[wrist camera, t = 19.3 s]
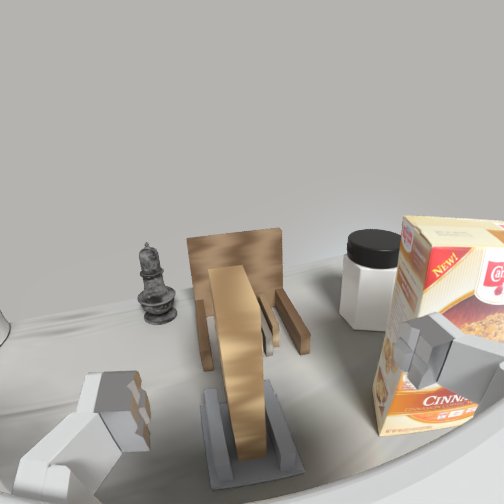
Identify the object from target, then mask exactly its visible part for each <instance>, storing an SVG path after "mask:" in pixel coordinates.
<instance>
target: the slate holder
mask: <svg viewBox="0 0 504 504" xmlns="http://www.w3.org/2000/svg"><path fill="white" fill-rule="evenodd" d="M204 394H205V402H206V406H200V409H201V418H202V426H203V434H204V442H205V450H206V457H207V464H208V471H209V478H210V484H211V489H212V490H218V489H225V488H233V487H239V486H245V485H251V484H257V483H262V482H267V481H272V480H277V479H281V478H286V477H290V476H294V475H298V474H302V473H305V469H304V467H303V464H302V462H301V459H300V456H299V454H298V451H297V449H296V446H295V443H294V441H293V438H292V435H291V433H290V430H289V427H288V425H287V422H286V419H285V417H284V414H283V411H282V409H281V406H280V403H279V401H278V398H277V395H276V394H274V391H273V388H272V385H271V383H270V380H269V379H268V380H264V401H265V424H266V448H267V456H266V457H261V458H255V459H250V460H244V461H239V460H238V455H237V451H236V446H235V441H234V437H233V432H232V427H231V422H230V417H229V412H228V406H227V403H222V404H219V400H218V395H217V389H216V388H212V389H204Z"/></svg>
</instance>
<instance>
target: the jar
mask: <svg viewBox="0 0 504 504" xmlns="http://www.w3.org/2000/svg"><path fill="white" fill-rule="evenodd" d="M400 242H401V235H398V234H396V233H393V232H390V231H385V230H378V229H365V230H358V231H355V232H353V233H351V234H350V235H349V236H348V243H347V254H345V255H344V260H343V275H342V288H341V300H340V310H339V313H340V314H341V316H342V317H343V318H344V319H345V320H346V321H347V322H348V323H349V325H350V326H351V327H352V328H353V329H354V330H368V331H386V328H387V323H388V318H389V313H390V307H391V302H392V296H393V291H394V285H395V279H396V272H397V265H398V258H399V250H400Z"/></svg>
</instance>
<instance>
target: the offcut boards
mask: <svg viewBox="0 0 504 504" xmlns="http://www.w3.org/2000/svg"><path fill="white" fill-rule="evenodd" d="M259 306H260V314H261V335H262V357H263V348H264V351H265V354H266V356H271V355H273V347H278V346H279V324H278V322H277V320H276V318H275V315H274V313H273V311H272V309H271V307H270V305H269V303H268V301H267V299H266V297H265V295H264V294H259Z"/></svg>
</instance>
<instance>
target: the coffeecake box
mask: <svg viewBox="0 0 504 504" xmlns="http://www.w3.org/2000/svg"><path fill="white" fill-rule="evenodd" d="M433 312H439V313H441V314H442V315H443V316H444V317H445V318H447V319H448V320H449V321H450V322H451V323H453V324H454V325H455V326H456V327H457V328H459V329H460V330H461V331H462V332H463V333H465V334H472V335H475V336H479V337H482V338H486V339H489V340H492V341H496V342H499V343H503V344H504V221H495V220H480V219H464V218H445V217H425V216H403V223H402V233H401V242H400V250H399V258H398V265H397V272H396V279H395V285H394V291H393V296H392V302H391V307H390V313H389V318H388V323H387V328H386V333H385V338H384V342H383V347H382V351H381V355H380V359H379V363H378V367H377V371H376V375H375V378H374V382H373V387H372V392H373V399H374V405H375V412H376V418H377V426H378V433H379V436H391V435H400V434H409V433H416V432H423V431H430V430H436V429H442V428H448V427H453V426H458V425H462V424H463V423H465V422H467V421H468V420H470V419H471V418H473V415H474V412H475V410H476V409H477V407H478V404H476V403H474V402H472V401H470V400H468V399H466V398H464V397H462V396H460V395H458V394H456V393H454V392H452V391H450V390H448V389H446V388H444V387H442V386H440V385H438V384H437V383H435V384H432V385H430V386H427V387H425V388H422V389H420V390H417V389H416V388H415V387H414V385H413V384H412V383H411V382H410V381H409V379H408V378H407V372H405V371H402V370H400V369H399V367H398V366H397V365H396V363H395V360H394V355H393V350H394V345H395V343H396V341H397V340H398V339H399V336H398V334H397V332H398V328H399V326H400V324H401V323H402V322H405V321H409V320H412V319H415V318H418V317H422V316H424V315H427V314H430V313H433Z"/></svg>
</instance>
